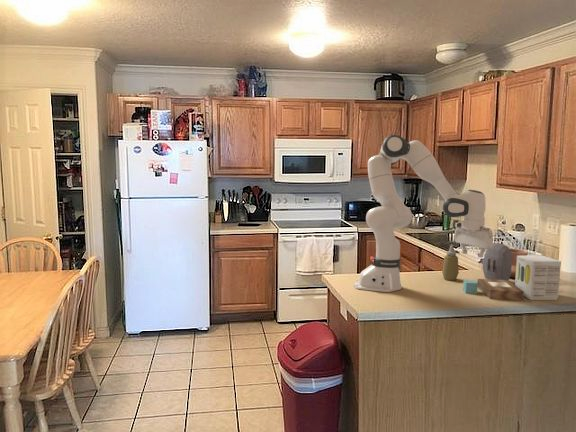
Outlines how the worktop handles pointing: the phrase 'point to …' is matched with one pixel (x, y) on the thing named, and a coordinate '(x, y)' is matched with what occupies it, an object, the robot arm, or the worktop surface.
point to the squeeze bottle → (450, 265)
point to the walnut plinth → (500, 289)
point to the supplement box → (538, 277)
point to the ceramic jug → (514, 259)
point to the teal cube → (470, 286)
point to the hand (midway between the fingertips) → (472, 255)
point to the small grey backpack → (497, 262)
